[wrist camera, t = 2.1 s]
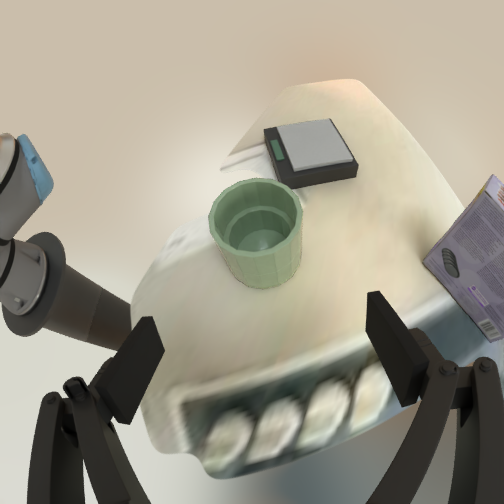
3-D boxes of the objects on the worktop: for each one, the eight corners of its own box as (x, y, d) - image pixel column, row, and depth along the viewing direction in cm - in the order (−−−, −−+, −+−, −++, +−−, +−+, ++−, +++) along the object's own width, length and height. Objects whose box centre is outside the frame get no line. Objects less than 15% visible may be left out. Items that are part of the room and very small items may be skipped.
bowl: (220, 283, 38) (197, 249, 29) (238, 220, 43) (223, 175, 33) (294, 295, 36) (294, 263, 27) (305, 229, 40) (307, 182, 31)
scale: (281, 191, 44) (280, 176, 40) (265, 140, 50) (262, 125, 46) (356, 177, 43) (359, 161, 40) (329, 130, 49) (330, 115, 46)
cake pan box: (506, 325, 28) (581, 285, 12) (493, 349, 27) (574, 317, 11) (435, 243, 36) (490, 168, 20) (419, 263, 35) (478, 189, 20)
